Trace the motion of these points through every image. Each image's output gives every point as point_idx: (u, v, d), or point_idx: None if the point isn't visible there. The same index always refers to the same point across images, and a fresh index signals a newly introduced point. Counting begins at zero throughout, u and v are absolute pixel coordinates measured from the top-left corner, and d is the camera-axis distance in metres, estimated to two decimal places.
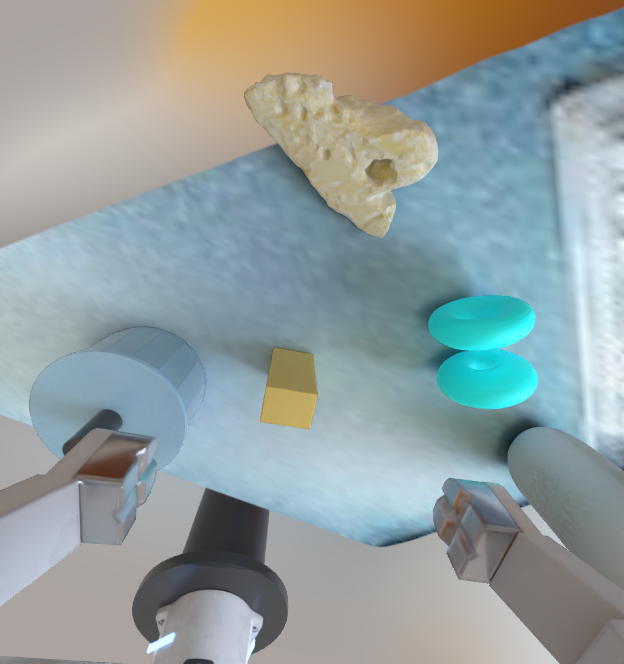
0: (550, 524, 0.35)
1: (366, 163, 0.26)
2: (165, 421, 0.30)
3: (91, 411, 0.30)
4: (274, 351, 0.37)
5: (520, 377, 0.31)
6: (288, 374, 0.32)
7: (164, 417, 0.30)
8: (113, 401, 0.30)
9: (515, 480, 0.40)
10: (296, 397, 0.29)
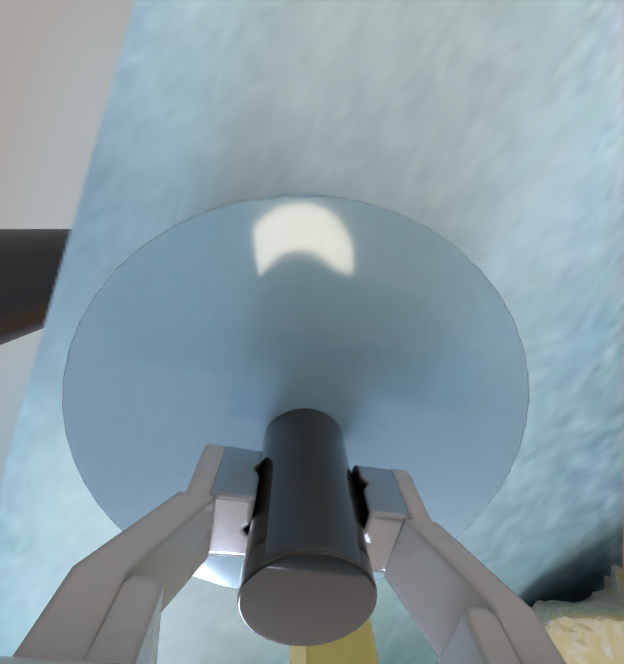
0: None
1: None
2: None
3: (338, 403, 0.09)
4: None
5: None
6: None
7: None
8: (367, 461, 0.10)
9: None
10: None
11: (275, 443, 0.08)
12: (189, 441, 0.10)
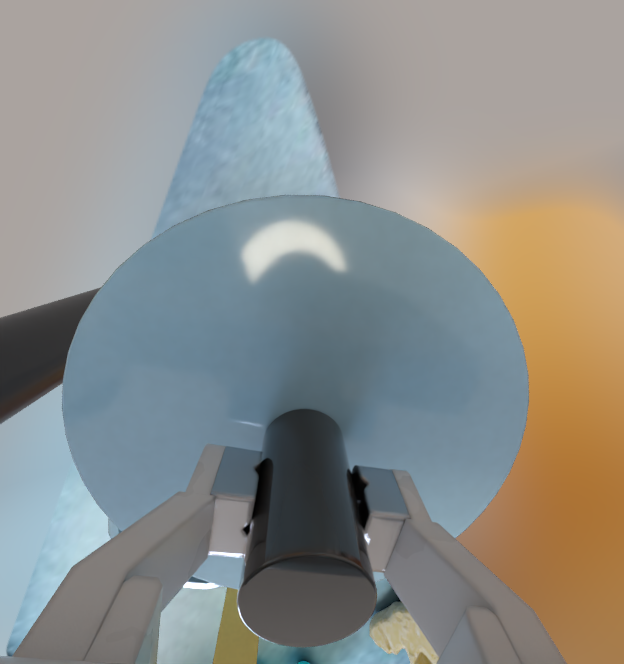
0: None
1: (432, 663, 0.35)
2: None
3: (338, 403, 0.09)
4: None
5: None
6: None
7: None
8: (367, 462, 0.10)
9: None
10: None
11: (275, 444, 0.08)
12: (189, 442, 0.10)
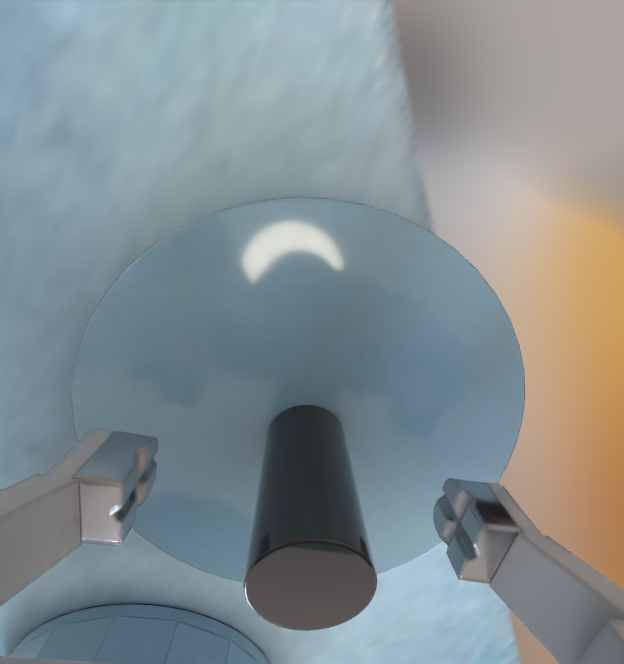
0: None
1: None
2: None
3: (339, 399, 0.10)
4: None
5: None
6: None
7: None
8: (368, 457, 0.11)
9: None
10: None
11: (279, 438, 0.09)
12: (194, 437, 0.10)
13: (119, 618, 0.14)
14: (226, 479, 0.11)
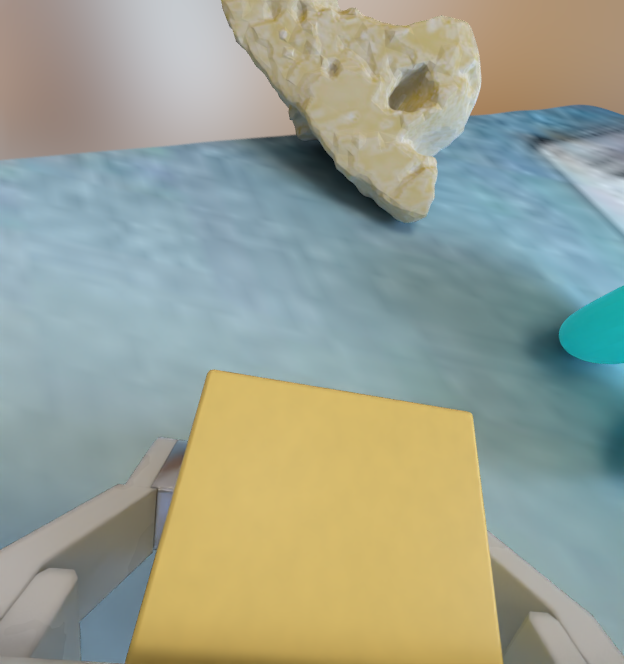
0: None
1: (392, 78, 0.18)
2: None
3: None
4: None
5: None
6: None
7: None
8: None
9: None
10: (371, 429, 0.05)
11: None
12: None
13: None
14: None
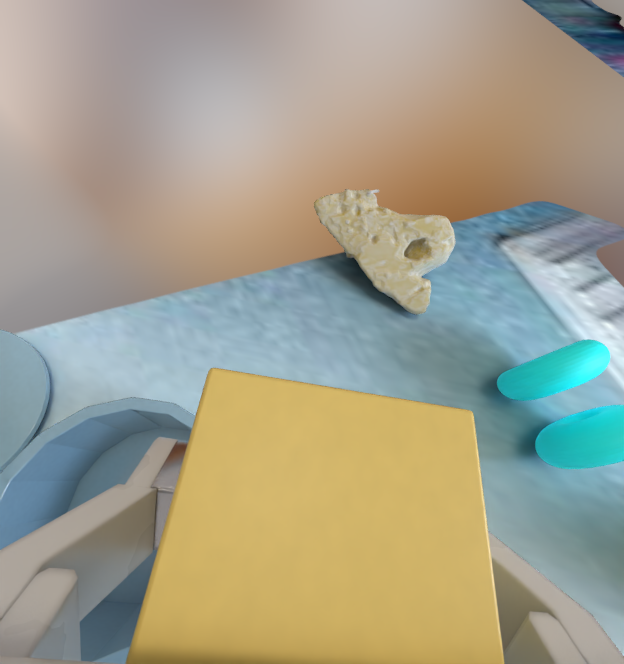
0: None
1: (406, 243, 0.34)
2: (15, 408, 0.25)
3: None
4: None
5: None
6: None
7: (16, 402, 0.25)
8: None
9: None
10: (371, 427, 0.05)
11: None
12: None
13: None
14: None
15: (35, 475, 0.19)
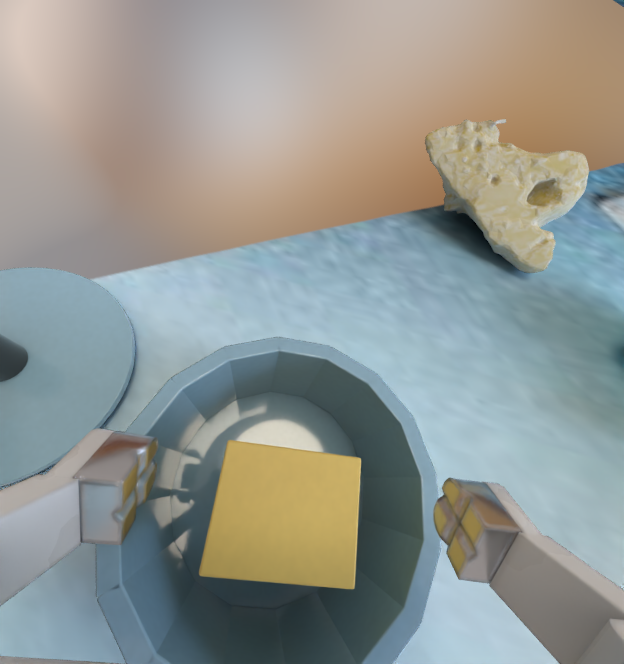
0: None
1: (531, 186, 0.29)
2: (98, 364, 0.20)
3: None
4: None
5: None
6: None
7: (99, 357, 0.20)
8: (29, 331, 0.20)
9: None
10: (306, 469, 0.11)
11: None
12: None
13: None
14: (20, 404, 0.18)
15: (160, 436, 0.14)
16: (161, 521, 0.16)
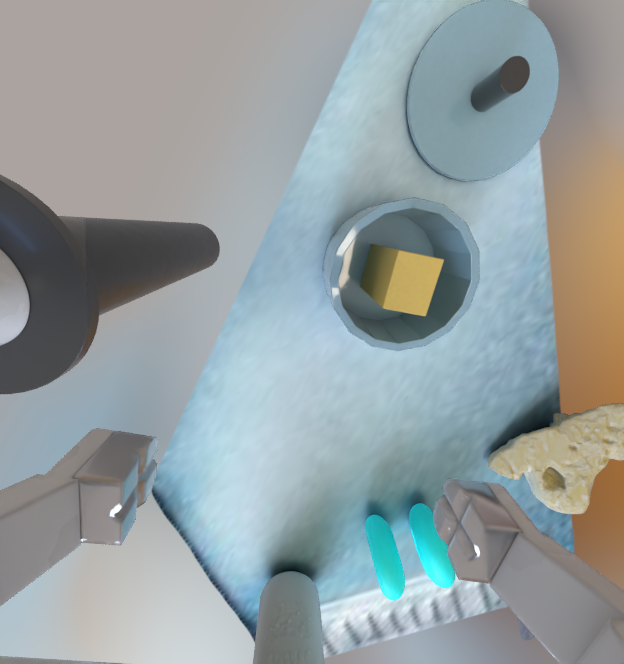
0: (271, 645, 0.40)
1: (562, 472, 0.39)
2: (471, 159, 0.31)
3: None
4: None
5: None
6: None
7: (476, 158, 0.32)
8: (503, 107, 0.30)
9: (277, 593, 0.46)
10: (426, 293, 0.26)
11: (486, 76, 0.28)
12: (447, 94, 0.30)
13: None
14: (453, 115, 0.30)
15: (433, 217, 0.28)
16: None
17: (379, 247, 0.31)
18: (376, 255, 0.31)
